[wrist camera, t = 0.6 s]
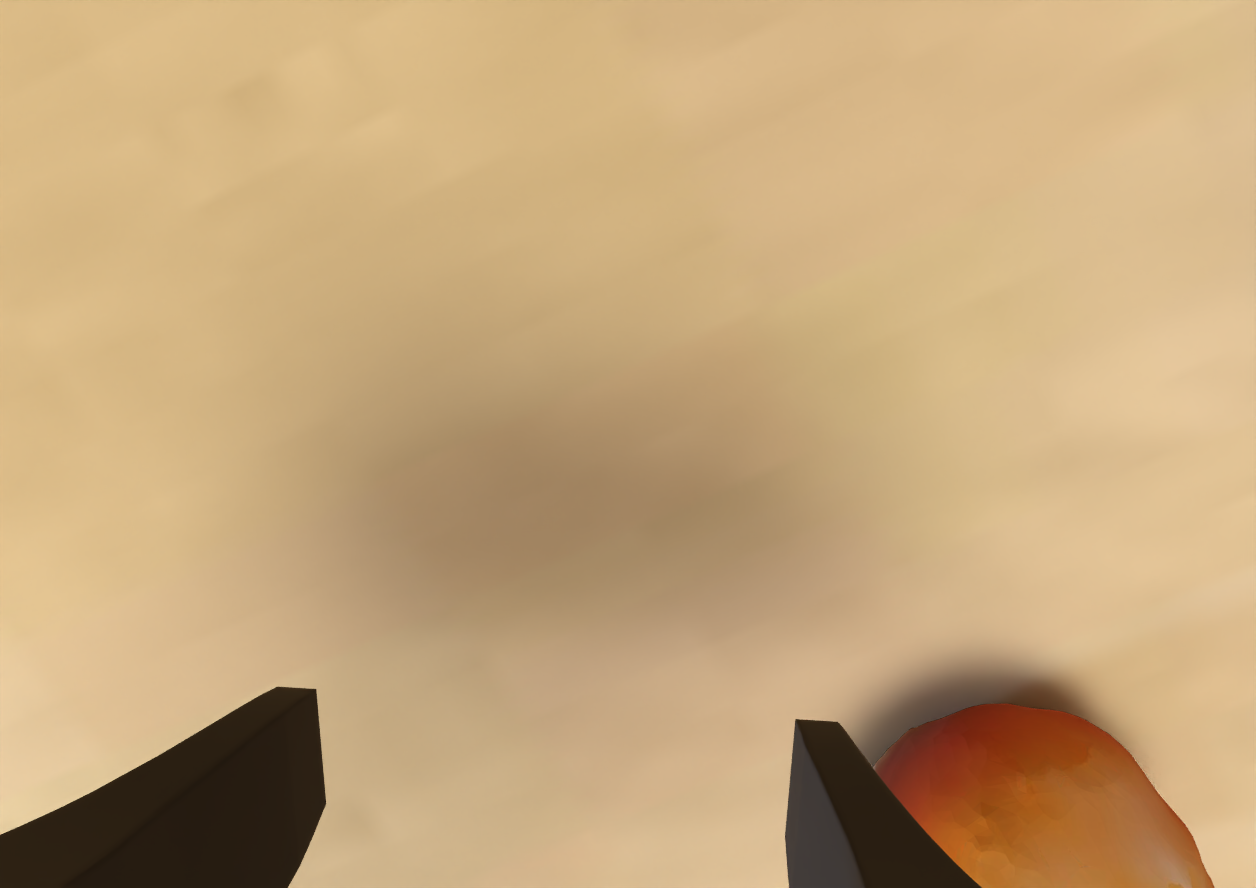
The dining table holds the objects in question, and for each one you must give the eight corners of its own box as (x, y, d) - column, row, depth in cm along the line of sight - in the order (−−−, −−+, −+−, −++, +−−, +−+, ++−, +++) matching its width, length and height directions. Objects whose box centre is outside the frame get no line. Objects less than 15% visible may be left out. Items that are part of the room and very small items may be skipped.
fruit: (721, 781, 23) (951, 962, 16) (936, 615, 25) (1219, 704, 18) (834, 1011, 25) (1087, 1269, 17) (1023, 834, 27) (1312, 995, 20)
